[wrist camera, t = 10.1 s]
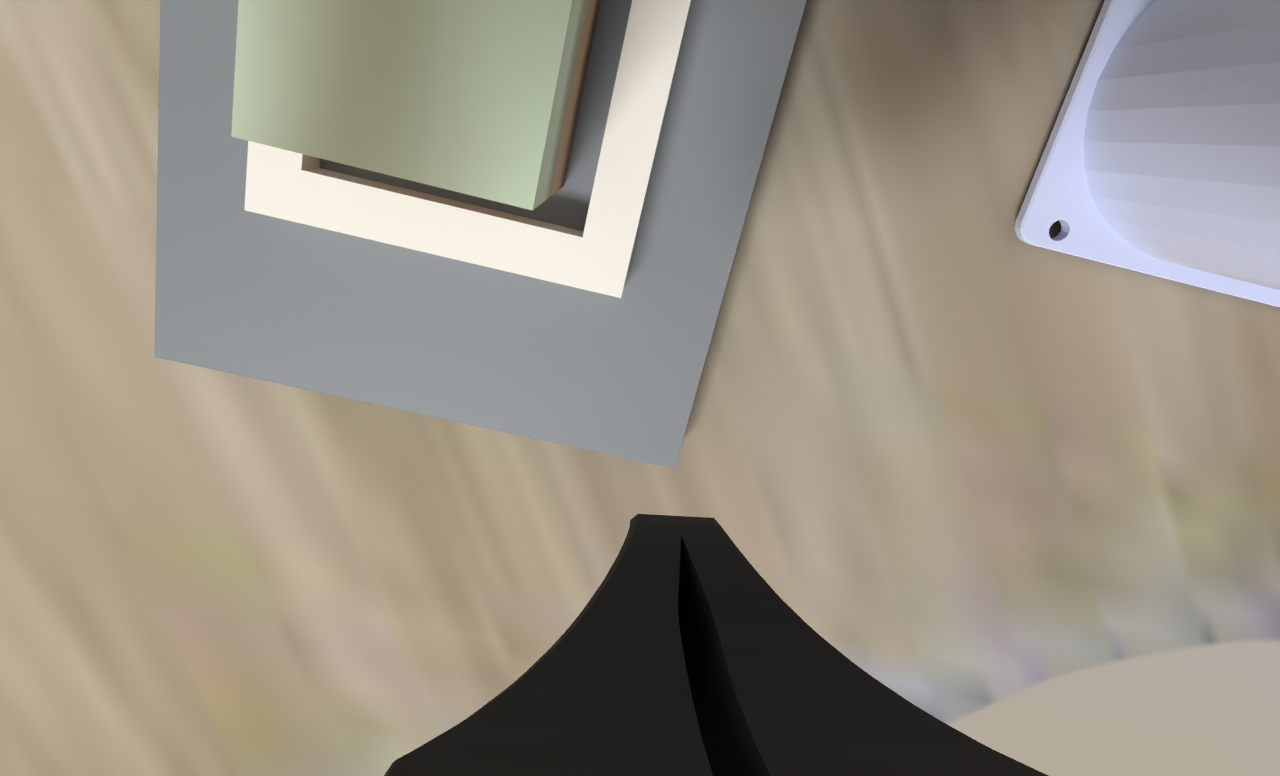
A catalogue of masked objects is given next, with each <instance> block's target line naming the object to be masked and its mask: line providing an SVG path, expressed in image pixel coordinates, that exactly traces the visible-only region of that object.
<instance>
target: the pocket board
mask: <svg viewBox="0 0 1280 776" xmlns="http://www.w3.org/2000/svg"><path fill="white" fill-rule="evenodd" d="M806 1H807V0H601V3H600V8H599V13H598V18H597V23H596V28H595V33H594V38H593V43H592V48H591V53H590V58H589V63H588V68H587V72H586V77H585V82H584V87H583V92H582V97H581V102H580V107H579V112H578V117H577V122H576V127H575V132H574V137H573V142H572V147H571V152H570V157H569V162H568V167H567V172H566V177H565V182H564V186H563V187H562V188H561V189H559V190H558V191H557V192H556V193H554V194H553V195H552V196H550V197H549V198H548V199H547V200H545V201H544V202H543V203H542V204H540V205H539V206H538V207H536V208H535V209H534V210H528V209H524V208H520V207H516V206H512V205H508V204H504V203H500V202H496V201H492V200H488V199H484V198H480V197H476V196H471V195H467V194H463V193H459V192H455V191H451V190H447V189H443V188H439V187H435V186H431V185H427V184H423V183H418V182H414V181H410V180H406V179H402V178H398V177H394V176H390V175H386V174H382V173H378V172H374V171H370V170H366V169H361V168H357V167H353V166H349V165H345V164H341V163H337V162H333V161H329V160H325V159H321V158H317V157H313V156H308V155H304V154H300V153H296V152H292V151H288V150H284V149H280V148H276V147H272V146H268V145H264V144H260V143H256V142H251V141H247V140H243V139H239V138H235V137H231V133H232V114H233V95H234V76H235V57H236V38H237V19H238V0H161V7H160V66H159V125H158V184H157V242H156V301H155V357H158V358H162V359H167V360H172V361H176V362H181V363H185V364H190V365H195V366H199V367H204V368H209V369H213V370H218V371H223V372H227V373H232V374H237V375H241V376H246V377H251V378H255V379H260V380H265V381H269V382H274V383H278V384H283V385H288V386H292V387H297V388H302V389H306V390H311V391H316V392H320V393H325V394H330V395H334V396H339V397H344V398H348V399H353V400H358V401H362V402H367V403H371V404H376V405H381V406H385V407H390V408H395V409H399V410H404V411H409V412H413V413H418V414H423V415H427V416H432V417H437V418H441V419H446V420H451V421H455V422H460V423H465V424H469V425H474V426H478V427H483V428H488V429H492V430H497V431H502V432H506V433H511V434H516V435H520V436H525V437H530V438H534V439H539V440H544V441H548V442H553V443H558V444H562V445H567V446H571V447H576V448H581V449H585V450H590V451H595V452H599V453H604V454H609V455H613V456H618V457H623V458H627V459H632V460H637V461H641V462H646V463H651V464H655V465H660V466H664V467H669V468H674V469H675V466H676V462H677V459H678V455H679V452H680V448H681V445H682V441H683V438H684V434H685V430H686V427H687V423H688V420H689V416H690V413H691V409H692V406H693V402H694V399H695V395H696V391H697V388H698V384H699V381H700V377H701V374H702V370H703V367H704V363H705V359H706V356H707V352H708V349H709V345H710V342H711V338H712V335H713V331H714V328H715V324H716V320H717V317H718V313H719V310H720V306H721V303H722V299H723V296H724V292H725V288H726V285H727V281H728V278H729V274H730V271H731V267H732V264H733V260H734V257H735V253H736V249H737V246H738V242H739V239H740V235H741V232H742V228H743V225H744V221H745V217H746V214H747V210H748V207H749V203H750V200H751V196H752V193H753V189H754V186H755V182H756V178H757V175H758V171H759V168H760V164H761V161H762V157H763V154H764V150H765V146H766V143H767V139H768V136H769V132H770V129H771V125H772V122H773V118H774V115H775V111H776V107H777V104H778V100H779V97H780V93H781V90H782V86H783V83H784V79H785V75H786V72H787V68H788V65H789V61H790V58H791V54H792V51H793V47H794V43H795V40H796V36H797V33H798V29H799V26H800V22H801V19H802V15H803V12H804V8H805V4H806Z"/></svg>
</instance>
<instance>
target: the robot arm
mask: <svg viewBox="0 0 1280 776" xmlns="http://www.w3.org/2000/svg"><path fill="white" fill-rule="evenodd" d="M1058 220H1059V221H1060V223H1061V231H1060V232H1059V234H1058V235H1057V236H1056V237H1054V238H1052V239H1051V238H1050V236H1049V228H1050V227H1051V225H1052V224H1053V223H1054V222H1056V221H1058ZM1015 232H1016V235H1017V237H1018V238H1019V239H1020V240H1021V241H1023V242H1025V243H1027V244H1031V245H1034V246H1038V247H1042V248H1046V249H1050V250H1054V251H1058V252H1062V253H1066V254H1070V255H1074V256H1078V257H1082V258H1086V259H1090V260H1094V261H1098V262H1102V263H1106V264H1110V265H1114V266H1118V267H1122V268H1126V269H1130V270H1134V271H1138V272H1142V273H1146V274H1150V275H1154V276H1158V277H1162V278H1166V279H1169V280H1173V281H1177V282H1181V283H1185V284H1189V285H1193V286H1197V287H1201V288H1205V289H1209V290H1213V291H1217V292H1221V293H1225V294H1229V295H1233V296H1237V297H1241V298H1245V299H1249V300H1253V301H1257V302H1261V303H1265V304H1269V305H1273V306H1277V307H1280V0H1105V1H1104V4H1103V6H1102V9H1101V11H1100V13H1099V16H1098V18H1097V21H1096V23H1095V26H1094V28H1093V31H1092V33H1091V36H1090V38H1089V41H1088V43H1087V46H1086V48H1085V51H1084V53H1083V56H1082V58H1081V61H1080V63H1079V65H1078V68H1077V70H1076V73H1075V75H1074V78H1073V80H1072V83H1071V85H1070V88H1069V90H1068V93H1067V95H1066V98H1065V100H1064V103H1063V105H1062V108H1061V110H1060V113H1059V115H1058V117H1057V120H1056V122H1055V125H1054V127H1053V130H1052V132H1051V135H1050V137H1049V140H1048V142H1047V145H1046V147H1045V150H1044V152H1043V155H1042V157H1041V160H1040V162H1039V165H1038V167H1037V169H1036V172H1035V174H1034V177H1033V179H1032V182H1031V184H1030V187H1029V189H1028V192H1027V194H1026V197H1025V199H1024V202H1023V204H1022V207H1021V209H1020V212H1019V214H1018V217H1017V219H1016V223H1015ZM384 776H1048V775H1045V774H1043V773H1041V772H1039V771H1037V770H1035V769H1033V768H1031V767H1029V766H1026V765H1024V764H1022V763H1020V762H1018V761H1016V760H1014V759H1011V758H1009V757H1007V756H1005V755H1003V754H1001V753H999V752H997V751H995V750H992V749H991V748H988V747H987V746H985V745H983V744H981V743H979V742H977V741H976V740H974V739H972V738H970V737H968V736H967V735H965V734H963V733H961V732H959V731H958V730H956V729H954V728H952V727H950V726H949V725H947V724H945V723H943V722H942V721H940V720H938V719H936V718H935V717H933V716H931V715H930V714H928V713H927V712H925V711H923V710H922V709H920V708H918V707H917V706H915V705H913V704H912V703H910V702H909V701H907V700H906V699H904V698H903V697H901V696H900V695H898V694H897V693H895V692H894V691H892V690H891V689H889V688H888V687H886V686H885V685H883V684H882V683H880V682H879V681H878V680H876V679H875V678H873V677H872V676H870V675H869V674H868V673H866V672H865V671H863V670H862V669H861V668H859V667H858V666H857V665H855V664H854V663H853V662H851V661H850V660H849V659H848V658H847V657H845V656H844V655H843V654H842V653H840V652H839V651H838V650H837V649H835V648H834V647H833V646H832V645H831V644H829V643H828V642H827V641H826V640H824V639H823V638H822V637H821V636H820V635H819V634H817V633H816V632H815V631H814V630H813V629H812V628H811V627H810V626H808V625H807V624H806V623H805V622H804V621H803V620H802V619H801V618H800V617H799V616H798V615H797V614H796V613H795V612H794V611H793V610H792V609H791V608H790V607H789V606H788V605H787V604H786V603H785V602H784V601H783V600H782V599H781V598H780V597H779V596H778V595H777V594H776V593H775V592H774V591H773V589H772V588H771V587H770V586H769V585H768V584H767V583H766V581H765V580H764V579H763V578H762V577H761V576H760V575H759V574H758V572H757V571H756V570H755V569H754V568H753V566H752V565H751V564H750V563H749V562H748V560H747V559H746V558H745V557H744V555H743V554H742V553H741V552H740V550H739V549H738V548H737V547H736V545H735V544H734V543H733V541H732V540H731V539H730V538H729V536H728V535H727V534H726V532H725V531H724V530H723V528H722V527H721V526H720V525H719V523H718V522H717V521H716V520H715V519H714V518H703V517H685V516H666V515H648V514H637V515H636V516H635V517H634V518H632V519H631V520H630V528H629V531H628V534H627V537H626V539H625V542H624V544H623V546H622V548H621V550H620V552H619V554H618V556H617V558H616V560H615V562H614V563H613V565H612V567H611V569H610V570H609V572H608V574H607V576H606V577H605V579H604V581H603V582H602V584H601V585H600V587H599V588H598V589H597V591H596V592H595V594H594V595H593V597H592V598H591V599H590V601H589V602H588V604H587V605H586V606H585V608H584V609H583V611H582V612H581V613H580V615H579V616H578V617H577V618H576V620H575V621H574V622H573V623H572V625H571V626H570V627H569V628H568V629H567V630H566V632H565V633H564V634H563V635H562V636H561V637H560V638H559V639H558V640H557V642H556V643H555V644H554V645H553V646H552V647H551V648H550V649H549V650H548V651H547V652H546V653H545V654H544V655H543V656H542V657H541V658H540V659H539V660H538V661H537V662H536V663H535V664H534V665H533V666H532V667H530V668H529V669H528V670H527V671H526V672H525V673H524V674H523V675H522V676H521V677H520V678H519V679H517V680H516V681H515V682H514V683H513V684H512V685H510V686H509V687H508V688H507V689H505V690H504V691H503V692H501V693H500V694H499V695H498V696H496V697H495V698H494V699H492V700H491V701H490V702H488V703H487V704H486V705H484V706H483V707H482V708H480V709H479V710H478V711H476V712H475V713H474V714H473V715H471V716H470V717H468V718H467V719H466V720H464V721H462V722H461V723H459V724H458V725H456V726H455V727H453V728H451V729H449V730H448V731H446V732H444V733H443V734H441V735H439V736H438V737H436V738H434V739H432V740H431V741H429V742H427V743H426V744H424V745H422V746H420V747H419V748H417V749H415V750H414V751H412V752H410V753H408V754H406V755H404V756H403V757H401V758H399V759H397V760H396V761H394V762H393V763H392V765H391V766H390V768H389V769H388V771H387V772H386V774H385V775H384Z"/></svg>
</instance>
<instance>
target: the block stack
mask: <svg viewBox="0 0 1280 776" xmlns="http://www.w3.org/2000/svg"><path fill="white" fill-rule="evenodd" d="M600 3H601V0H238V19H237V38H236V57H235V76H234V95H233V114H232V133H231V137H235V138H239V139H243V140H247V141H251V142H256V143H260V144H264V145H268V146H272V147H276V148H280V149H284V150H288V151H292V152H296V153H300V154H304V155H308V156H313V157H317V158H321V159H325V160H329V161H333V162H337V163H341V164H345V165H349V166H353V167H357V168H361V169H366V170H370V171H374V172H378V173H382V174H386V175H390V176H394V177H398V178H402V179H406V180H410V181H414V182H418V183H423V184H427V185H431V186H435V187H439V188H443V189H447V190H451V191H455V192H459V193H463V194H467V195H471V196H476V197H480V198H484V199H488V200H492V201H496V202H500V203H504V204H508V205H512V206H516V207H520V208H524V209H528V210H534V209H535V208H536V207H538V206H539V205H540V204H542V203H543V202H544V201H545V200H547V199H548V198H549V197H550V196H552V195H553V194H554V193H556V192H557V191H558V190H559V189H561V188H562V187H563V186H564V182H565V177H566V172H567V167H568V162H569V157H570V152H571V147H572V142H573V137H574V132H575V127H576V122H577V117H578V112H579V107H580V102H581V97H582V92H583V87H584V82H585V77H586V72H587V68H588V63H589V58H590V53H591V48H592V43H593V38H594V33H595V28H596V23H597V18H598V13H599V8H600Z"/></svg>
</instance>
